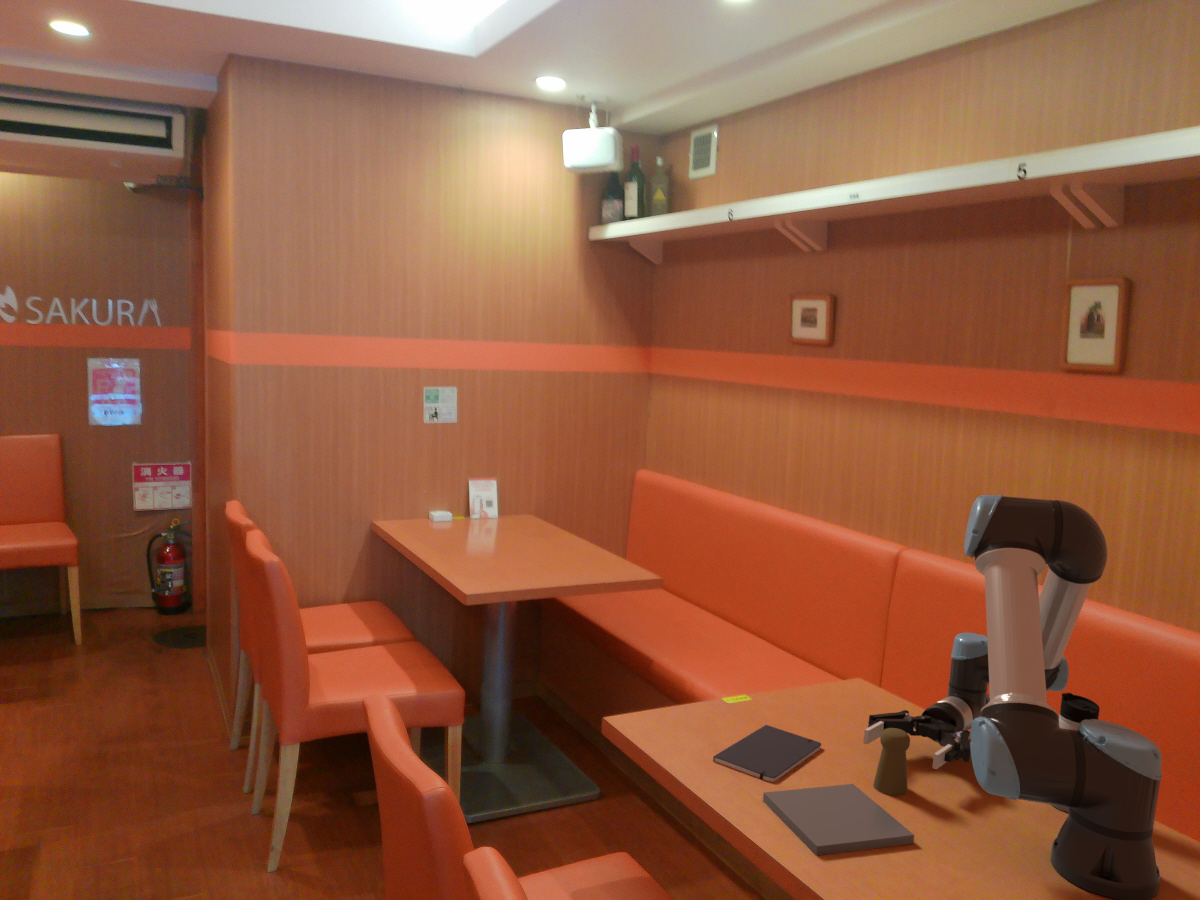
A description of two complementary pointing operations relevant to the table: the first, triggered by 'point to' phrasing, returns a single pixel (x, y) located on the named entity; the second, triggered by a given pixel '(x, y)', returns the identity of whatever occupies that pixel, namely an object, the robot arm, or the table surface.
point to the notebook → (768, 753)
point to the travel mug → (1075, 717)
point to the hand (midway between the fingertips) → (899, 749)
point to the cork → (892, 763)
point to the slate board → (837, 819)
